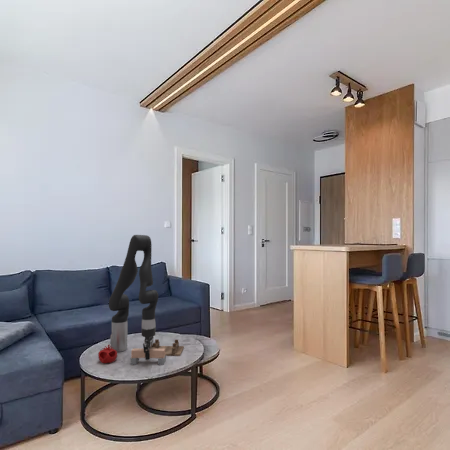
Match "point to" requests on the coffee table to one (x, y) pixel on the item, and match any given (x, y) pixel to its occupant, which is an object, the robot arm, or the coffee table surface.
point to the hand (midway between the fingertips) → (148, 358)
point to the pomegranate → (107, 355)
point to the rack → (169, 348)
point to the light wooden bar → (153, 353)
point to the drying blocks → (160, 360)
